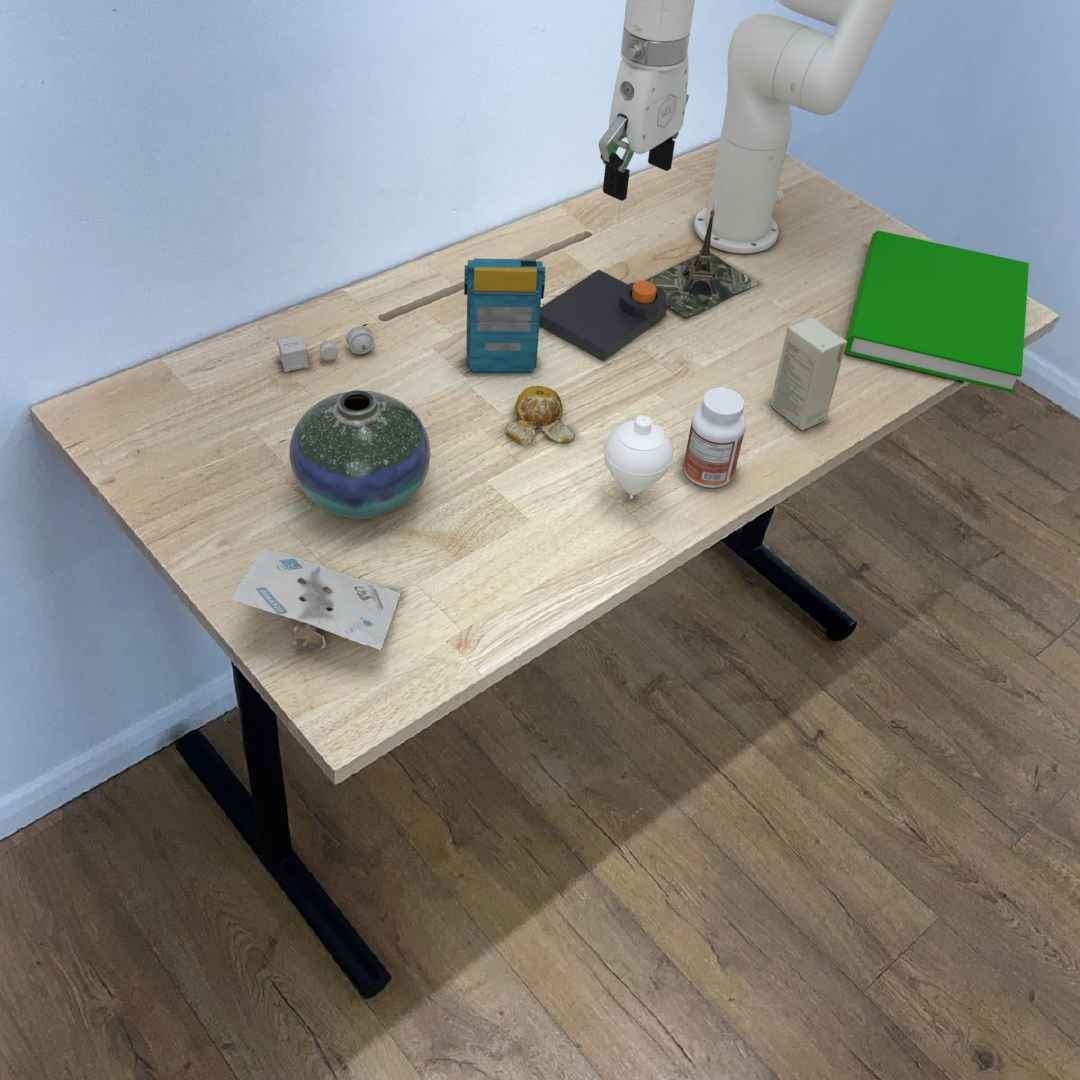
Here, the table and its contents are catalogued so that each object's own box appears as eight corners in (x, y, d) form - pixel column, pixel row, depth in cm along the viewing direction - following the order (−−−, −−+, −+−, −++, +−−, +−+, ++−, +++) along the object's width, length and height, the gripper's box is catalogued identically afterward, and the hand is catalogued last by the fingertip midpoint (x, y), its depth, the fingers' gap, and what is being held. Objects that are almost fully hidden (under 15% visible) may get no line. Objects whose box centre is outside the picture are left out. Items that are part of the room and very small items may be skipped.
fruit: (507, 445, 140) (508, 421, 138) (503, 400, 146) (504, 377, 143) (575, 444, 141) (578, 421, 139) (568, 399, 147) (571, 376, 144)
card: (367, 687, 115) (381, 647, 113) (219, 638, 114) (231, 596, 112) (388, 629, 126) (401, 591, 123) (252, 583, 124) (263, 544, 122)
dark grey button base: (599, 279, 166) (602, 257, 163) (671, 316, 160) (675, 294, 158) (533, 323, 158) (534, 301, 155) (607, 363, 152) (609, 341, 150)
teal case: (538, 356, 153) (545, 257, 142) (539, 376, 150) (547, 277, 139) (463, 355, 152) (464, 256, 141) (463, 375, 149) (464, 276, 138)
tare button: (640, 287, 159) (642, 277, 158) (659, 297, 158) (661, 287, 157) (626, 297, 157) (628, 287, 156) (645, 306, 156) (647, 297, 155)
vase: (356, 562, 126) (348, 472, 116) (266, 489, 133) (252, 399, 123) (459, 493, 134) (459, 403, 124) (369, 428, 141) (364, 338, 131)
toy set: (282, 354, 145) (275, 336, 147) (285, 375, 147) (279, 358, 149) (376, 335, 148) (368, 318, 150) (377, 356, 151) (369, 339, 153)
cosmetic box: (826, 421, 147) (850, 342, 138) (801, 432, 145) (824, 353, 136) (792, 392, 150) (813, 314, 142) (766, 403, 149) (786, 324, 140)
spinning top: (587, 506, 134) (596, 427, 125) (615, 467, 139) (626, 388, 130) (647, 531, 132) (662, 452, 123) (674, 490, 137) (689, 412, 128)
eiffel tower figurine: (706, 252, 172) (721, 169, 162) (758, 284, 167) (777, 200, 157) (634, 288, 165) (646, 203, 155) (687, 322, 160) (702, 237, 150)
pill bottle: (708, 447, 142) (723, 375, 134) (744, 475, 139) (762, 404, 131) (671, 467, 139) (685, 395, 131) (707, 497, 136) (724, 425, 128)
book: (1021, 280, 171) (1028, 262, 169) (1013, 393, 152) (1021, 374, 150) (868, 247, 175) (874, 229, 173) (842, 352, 156) (848, 334, 154)
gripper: (638, 79, 126) (621, 219, 139) (723, 31, 136) (700, 166, 148) (583, 57, 129) (571, 196, 142) (669, 11, 139) (651, 145, 151)
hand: (637, 181), depth 145 cm, fingers open, 9 cm apart
